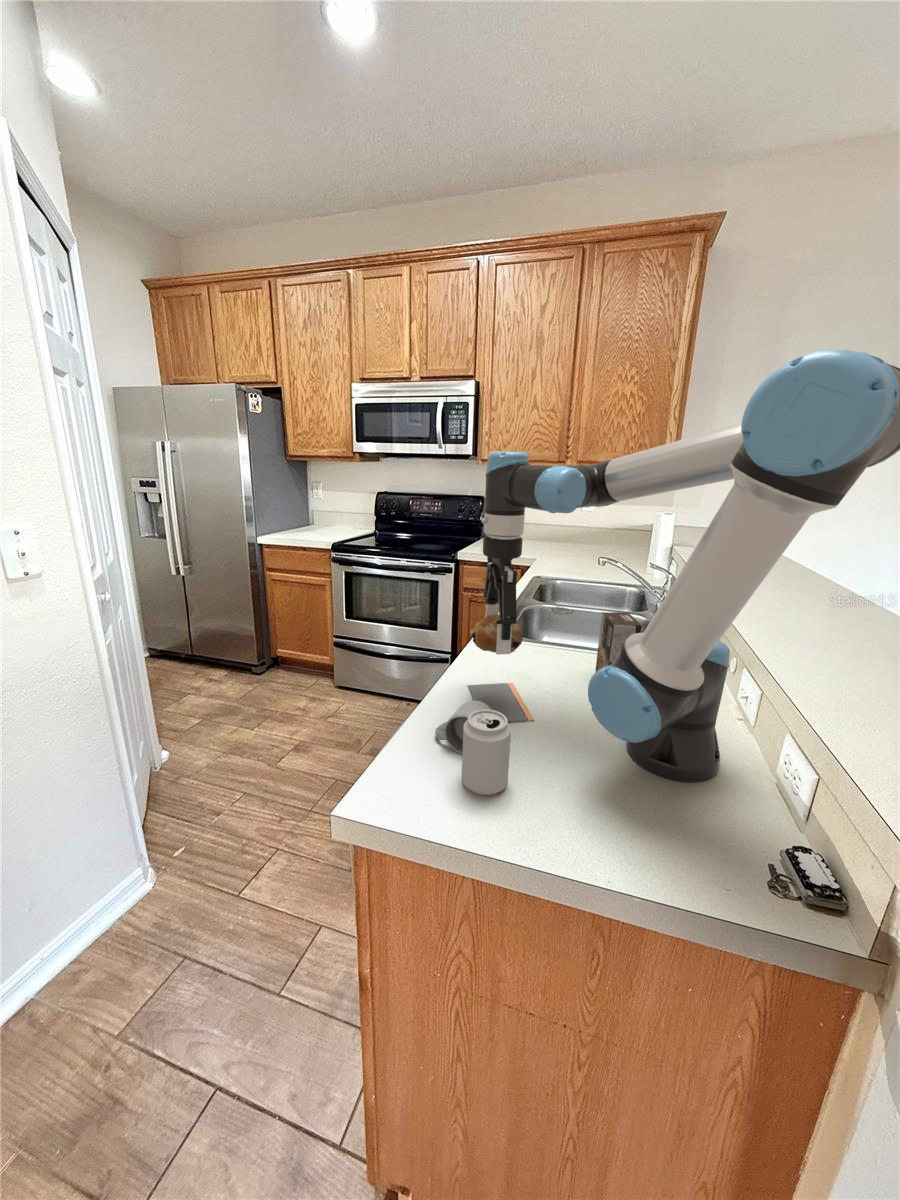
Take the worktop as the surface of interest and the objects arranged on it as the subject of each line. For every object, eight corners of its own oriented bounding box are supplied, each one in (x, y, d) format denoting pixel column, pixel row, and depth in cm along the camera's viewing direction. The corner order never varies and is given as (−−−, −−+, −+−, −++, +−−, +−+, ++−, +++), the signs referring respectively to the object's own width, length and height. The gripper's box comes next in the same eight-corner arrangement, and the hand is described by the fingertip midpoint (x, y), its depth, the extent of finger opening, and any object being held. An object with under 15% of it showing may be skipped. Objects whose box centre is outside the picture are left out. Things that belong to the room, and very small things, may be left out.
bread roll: (494, 672, 95) (512, 643, 91) (457, 640, 99) (472, 610, 95) (520, 656, 103) (537, 629, 98) (484, 626, 107) (499, 599, 102)
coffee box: (633, 692, 109) (643, 625, 105) (604, 691, 110) (613, 624, 105) (620, 674, 118) (629, 611, 113) (593, 673, 118) (601, 610, 113)
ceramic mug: (496, 735, 92) (497, 699, 90) (483, 759, 85) (484, 721, 82) (444, 724, 96) (444, 689, 93) (427, 746, 88) (427, 709, 86)
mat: (534, 720, 97) (534, 719, 97) (483, 724, 95) (483, 723, 95) (512, 683, 112) (512, 682, 112) (467, 686, 110) (467, 685, 110)
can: (494, 805, 74) (498, 737, 70) (452, 787, 78) (454, 721, 74) (515, 778, 80) (519, 714, 76) (475, 763, 84) (478, 701, 80)
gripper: (472, 525, 103) (468, 623, 110) (498, 547, 82) (491, 667, 88) (507, 525, 104) (501, 623, 111) (540, 547, 83) (530, 665, 90)
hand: (496, 642), depth 100 cm, fingers closed on bread roll, 10 cm apart
